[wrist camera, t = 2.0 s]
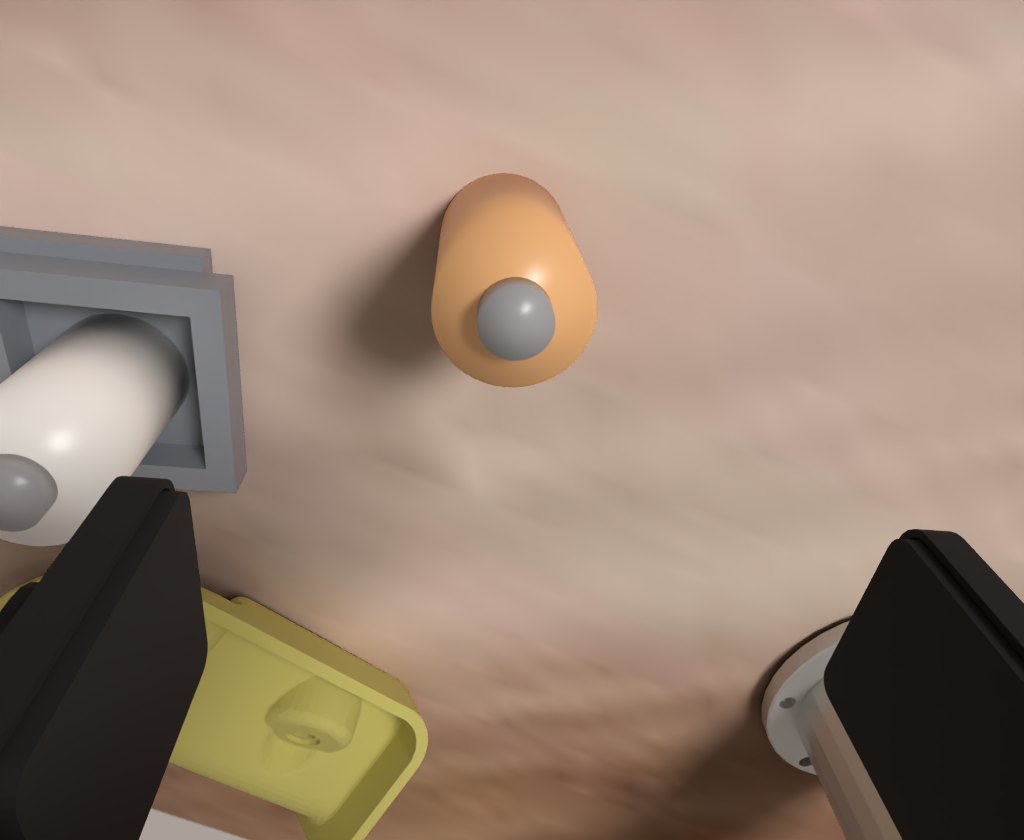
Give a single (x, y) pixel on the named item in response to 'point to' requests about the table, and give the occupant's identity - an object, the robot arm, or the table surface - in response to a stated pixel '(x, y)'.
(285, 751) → the plastic component
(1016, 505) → the table surface
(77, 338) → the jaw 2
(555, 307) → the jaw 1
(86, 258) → the housing
